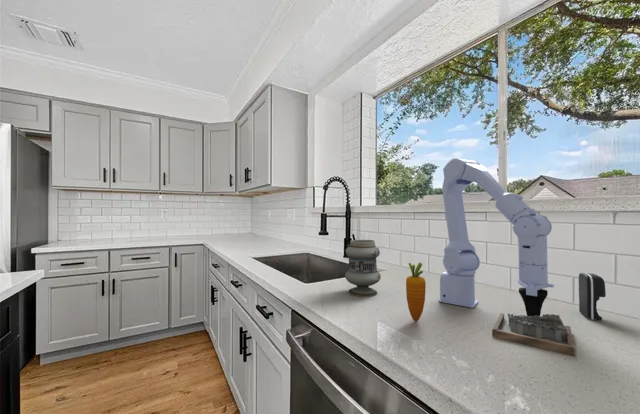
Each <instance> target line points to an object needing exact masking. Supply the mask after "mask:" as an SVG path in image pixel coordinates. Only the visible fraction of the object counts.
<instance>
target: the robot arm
mask: <svg viewBox="0 0 640 414" xmlns="http://www.w3.org/2000/svg"><path fill="white" fill-rule="evenodd" d="M442 169H443V177H444V178H443V183H442V188H441V189H442V197H443V205H444V212H445V213H444V214H445V219H446V227H447V228H446V229H447V232H448V233H447V234H448V241H449V242H448V244H447V245H446V246H445V247H444V249H443V252H444V255H443V258H442V259H443V260H442V265H443V267H444V269H445V270H446V271H442V272H441V274H440V276H439V300H438V302H439V303H445V304H451V305H456V306H462V307H466V308H471V309H473V308H475V306H476V305H477V304H478V303H479V300H478V299H476V298H475V297H476V295H475V293H476V291H475V290H476V286H475V283H476V282H475V281H476V279H475V278H476V277H475V274H476V270H477V271H478V269H479V267H480V264H481V261H480V257H479V255H478V254H477V252H476V248H475V246H474V245H473V244H472V243H471V242H470V241H469V240H470V239H469V233H468V228H467V220H466V214H465V213H466V212H465V207H464V206H465V205H464V200H463V199H464V198H463V191H464V190H465V189H466V188H467V187H468V186H470V185H471V184H472V183H476V184H477V185H478V186H479V187H480V188H481V189H483V190H484V191H485V192H486V193H487V194H488V195H490V197H491V198H492V199H494V201H495V208H496V209H497V210H498V211H499V212H500V213H501V214H502V215H503V216H504V217H505V219H506V220H508V221H509V222H510V224H511V225H513V226H512V231H513V233H514V235H516V237H517V242H518V249H517V250H518V279H517V283H518V285H520V286H521V287H519V288H518V293H519V295H520V297H521V300H522V301H523V304H524V308H525V309H524V310H525V312H526V316H535V315H537V316H540V317H541V312H542V307H543V304H544V302H545V300H546V299H547V297H548V295H549V294H548V292H549V291H548V290H547V288H554V287H555V283H554V282H548V278H549V277H548V275H549V274H548V236H549V235H550V233H551V231H552V227H553V226H552V222H551V221H550V220H549V218H548V217H547V216H545V215H542V214H537V213H538V211H537V210H536V209H535V208H531V207H530V206H529V205H528V204H527V203H526V202H525V201H524V200H523V199H524V197H523V196H522V194H517V193H515V192H507V191H506V190H505V189H504V188H503V186H502V185H501V184H500V182H498V181H497V180H496V179H495V177H493V176H492V174H490V172H489V171H488V170H487V167H486V166H485V165H482V164H481V163H480V161H477V160H469V159H462V158H458V157H453V158H451V159H450V160H449V161H448V162H447V163H446V164H445V166H444V167H443V168H442Z"/></svg>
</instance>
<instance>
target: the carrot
mask: <svg viewBox="0 0 640 414" xmlns="http://www.w3.org/2000/svg"><path fill="white" fill-rule="evenodd" d="M408 266H409V269H410V272H411V275H410V276H409V275H408V276H407V277H406V279H405V280H406V281H405V288H406V291H405V292H406V301H407V302H406V303H407V307H408V311H409V314H410V316H411V319H412V320H413V322H414V323H417V322H419V320H420V318H421V316H422V314H423V311H424V307H425V301H426V288H427V287H426V280H425V277H423V276H420V275H422V274H423V273H424V270H421V268H422V267H423V263H422V262H418V263H417V266H416V265H415V264H412V263H411V262H408Z"/></svg>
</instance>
